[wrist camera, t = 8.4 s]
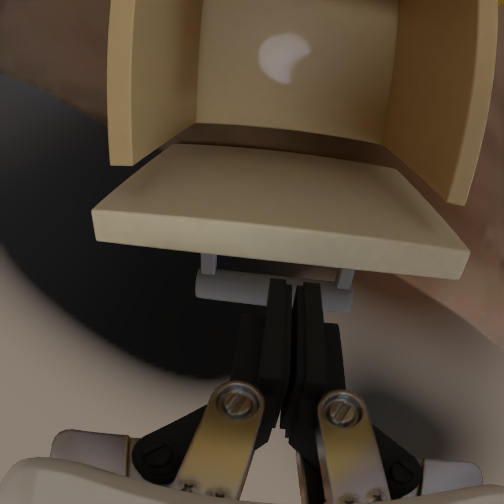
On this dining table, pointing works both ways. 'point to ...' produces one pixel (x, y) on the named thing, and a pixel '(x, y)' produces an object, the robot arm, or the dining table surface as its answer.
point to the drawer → (298, 119)
